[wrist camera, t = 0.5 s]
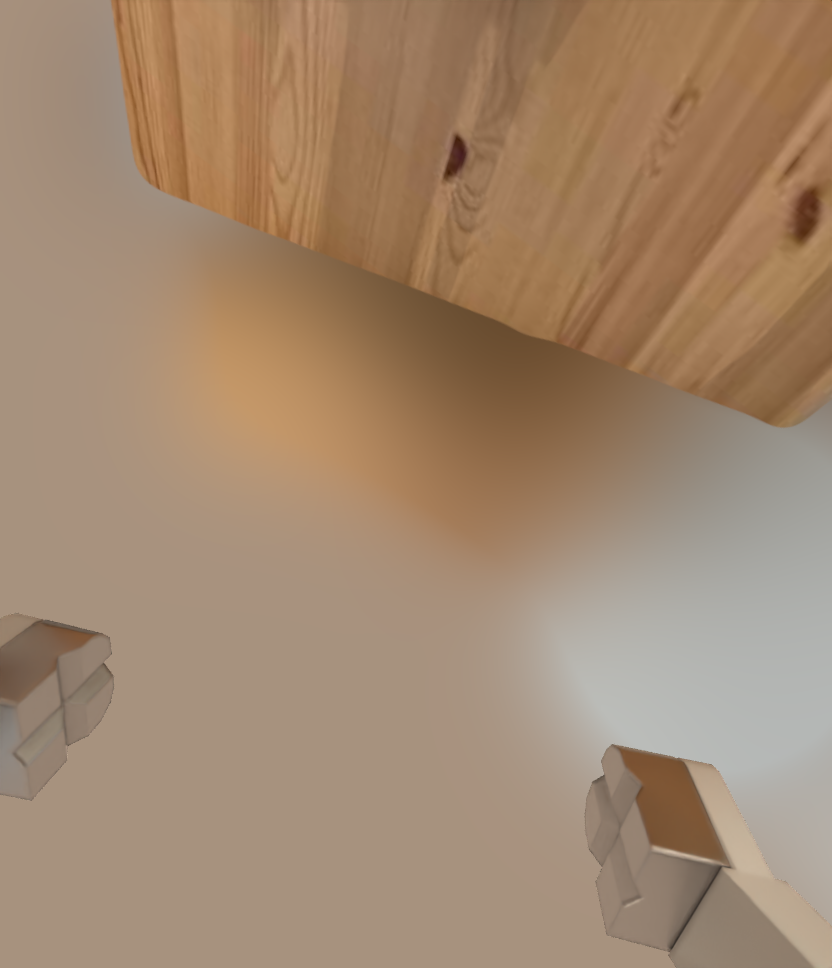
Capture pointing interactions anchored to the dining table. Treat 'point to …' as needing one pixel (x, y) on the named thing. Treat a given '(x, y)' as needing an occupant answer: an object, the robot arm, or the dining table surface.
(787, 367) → the dining table surface
